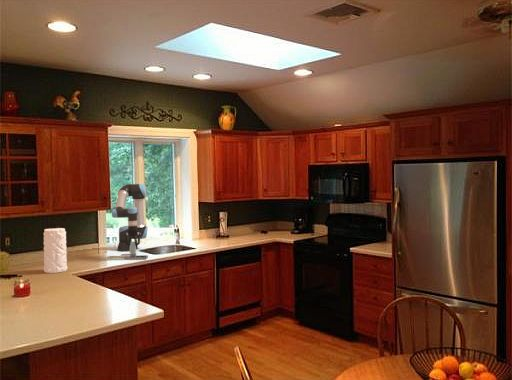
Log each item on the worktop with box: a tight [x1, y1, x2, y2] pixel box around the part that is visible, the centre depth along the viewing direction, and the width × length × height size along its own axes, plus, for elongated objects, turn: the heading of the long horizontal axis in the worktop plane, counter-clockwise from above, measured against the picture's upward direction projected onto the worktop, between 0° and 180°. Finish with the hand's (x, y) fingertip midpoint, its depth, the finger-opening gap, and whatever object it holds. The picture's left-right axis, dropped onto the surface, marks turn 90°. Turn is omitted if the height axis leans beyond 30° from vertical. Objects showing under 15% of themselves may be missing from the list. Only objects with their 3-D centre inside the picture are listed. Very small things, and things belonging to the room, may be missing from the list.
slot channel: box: [123, 254, 149, 261], centre depth 381 cm, size 9×18×3 cm, turn 91°
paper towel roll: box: [42, 227, 68, 274], centre depth 340 cm, size 17×16×32 cm
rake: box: [129, 241, 137, 257], centre depth 381 cm, size 5×4×14 cm
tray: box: [104, 255, 125, 261], centre depth 381 cm, size 11×16×3 cm
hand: (133, 252), depth 381 cm, fingers closed on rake, 3 cm apart
